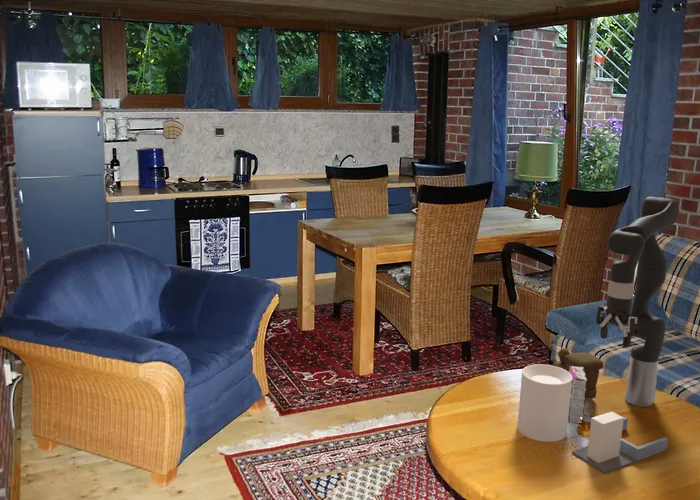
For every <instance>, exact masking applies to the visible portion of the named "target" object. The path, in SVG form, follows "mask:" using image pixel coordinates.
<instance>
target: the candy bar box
mask: <svg viewBox="0 0 700 500" xmlns="http://www.w3.org/2000/svg"><path fill="white" fill-rule="evenodd" d="M569 373H570V374H571V375H572V388H571V397H570V407H569V416H568V423H570V424H579V423H578V422H579V418H580V417H583V418H584V414H585V404H586V400H585V395H586V385H587V378H586V375H585V371H584V368H583V367H577V366H575V367H574V366H569Z"/></svg>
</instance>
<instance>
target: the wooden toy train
mask: <svg viewBox="0 0 700 500" xmlns="http://www.w3.org/2000/svg"><path fill="white" fill-rule="evenodd" d="M557 356H558V358H559V361H555V362H553V363H552V366H556V367H559V368H562V369H564V370H566V371H568V372H569V366H574V367H575V366H577V367H583V368H584V371H585V375H586V378H587V385H586V395H585V401H586V400H593V399H595V398H596V397H597V393H598V392H597V390H598V389H597V384H598V380H599V375H600V370H603V369H604V361H603V360H602V359H600V358H598V357H597V356H595V355H593V354H591V353H588V352H584V351H583V352H581V351H580V352H575V353H570V351H569V349H568V348H566V347H563V348H561V349H560V350H559V351H558V352H557Z"/></svg>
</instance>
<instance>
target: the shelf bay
mask: <svg viewBox="0 0 700 500" xmlns="http://www.w3.org/2000/svg"><path fill="white" fill-rule="evenodd" d="M622 417H623V418H624V420H623V428H622V432H623V431H625V430H627V427H628V420H629V418H628V417H626V416H622ZM668 440H669V438H668V437H665V436H663V437H661V438H659V439H656V440H653V441H650V442H646V443H645V444H641V445H638V446H637V445H635V444H634V443H631V442H630V441H627V439H624V438H622V437H621V444H620V453H622V454H623V455H625V456H627V457H629V458H630V459H632V460H634V461H635V462H639V461H641V460H643V459H646V458H650V457H652V456H654V455H658V454H660V453H662V452H666V451H667V448H668Z"/></svg>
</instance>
